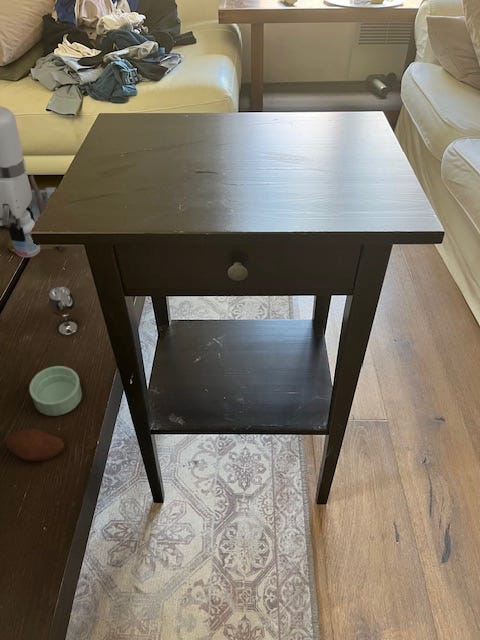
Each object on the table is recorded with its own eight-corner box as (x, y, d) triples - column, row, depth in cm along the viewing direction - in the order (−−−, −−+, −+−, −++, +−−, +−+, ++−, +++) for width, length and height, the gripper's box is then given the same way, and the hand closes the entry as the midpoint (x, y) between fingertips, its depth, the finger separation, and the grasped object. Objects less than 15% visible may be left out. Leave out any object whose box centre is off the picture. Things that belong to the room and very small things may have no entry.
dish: (27, 415, 107) (22, 401, 103) (43, 377, 114) (38, 363, 111) (75, 419, 107) (71, 406, 104) (87, 381, 114) (84, 368, 111)
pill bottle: (10, 251, 126) (0, 214, 118) (30, 240, 130) (21, 203, 122) (26, 261, 124) (17, 224, 116) (46, 250, 128) (38, 213, 120)
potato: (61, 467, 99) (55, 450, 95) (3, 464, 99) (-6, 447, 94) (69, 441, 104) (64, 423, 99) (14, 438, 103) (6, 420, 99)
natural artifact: (68, 246, 148) (59, 251, 150) (34, 174, 144) (25, 180, 146) (58, 249, 144) (50, 253, 146) (23, 175, 141) (15, 181, 143)
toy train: (68, 190, 147) (72, 180, 160) (-33, 191, 141) (-19, 180, 154) (72, 227, 152) (76, 214, 165) (-25, 229, 146) (-13, 215, 159)
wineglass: (64, 340, 122) (56, 305, 114) (51, 327, 125) (41, 292, 116) (84, 328, 126) (77, 294, 117) (71, 316, 128) (63, 281, 120)
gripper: (5, 145, 116) (20, 211, 129) (-27, 184, 104) (-6, 251, 117) (37, 149, 116) (50, 214, 129) (9, 188, 104) (26, 255, 117)
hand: (23, 231), depth 123 cm, fingers closed on pill bottle, 6 cm apart
